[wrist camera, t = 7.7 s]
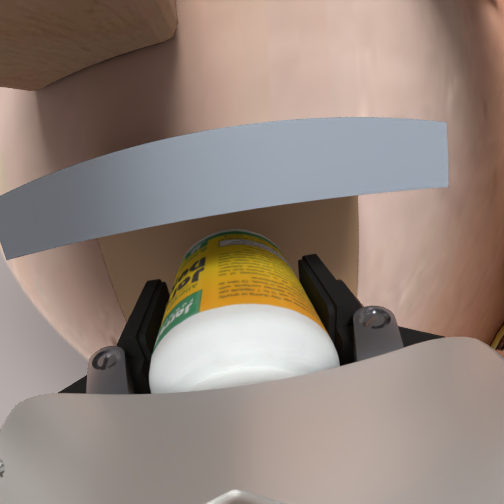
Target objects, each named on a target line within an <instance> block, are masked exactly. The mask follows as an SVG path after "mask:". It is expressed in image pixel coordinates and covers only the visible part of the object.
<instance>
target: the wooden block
mask: <svg viewBox="0 0 504 504" xmlns="http://www.w3.org/2000/svg"><path fill="white" fill-rule="evenodd" d="M177 24H178V20H177V11H176V1H175V0H0V87H7V88H14V89H21V90H28V91H35V90H40V89H42V88H44V87H46V86H48V85H49V84H51V83H53V82H55V81H57V80H59V79H62V78H64V77H66V76H68V75H70V74H72V73H74V72H77V71H79V70H81V69H84V68H86V67H88V66H91V65H93V64H96V63H98V62H101V61H104V60H106V59H109V58H112V57H115V56H118V55H121V54H124V53H127V52H130V51H133V50H136V49H140V48H143V47H147V46H150V45H154V44H158V43H162V42H164V41H166V40H168V39H170V38H172V37H173V35H174V32H175V30H176V27H177Z"/></svg>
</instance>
